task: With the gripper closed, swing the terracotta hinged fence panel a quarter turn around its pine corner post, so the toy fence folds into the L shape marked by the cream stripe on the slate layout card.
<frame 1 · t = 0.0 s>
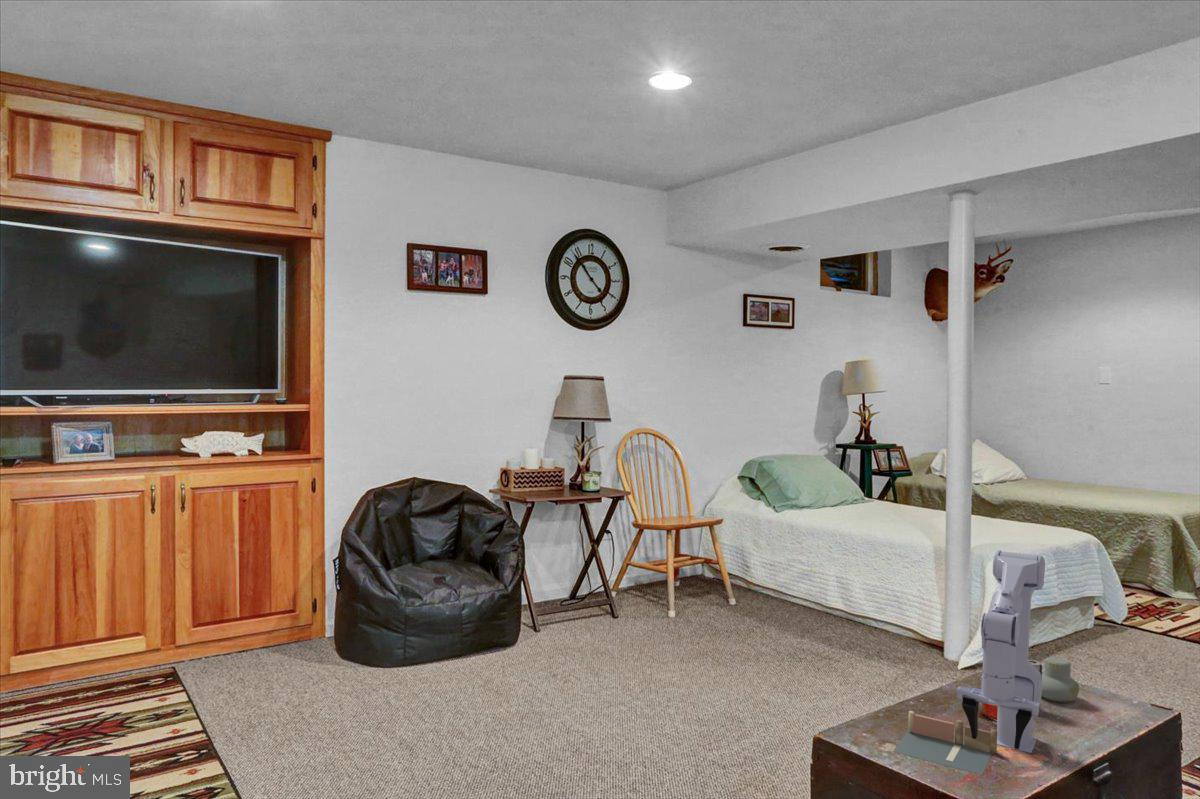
hand: (995, 742, 167), 10 cm above the table, tool pointing down, fingers open, 7 cm apart
grey l-shaped piece: (1056, 699, 219), on the table
fence frame: (958, 744, 188), resting on layout card
layout card: (943, 752, 185), on the table
energy drink: (1028, 710, 211), on the table
fence panel: (930, 726, 192), point 3 cm above the table, hinge at -90.0°
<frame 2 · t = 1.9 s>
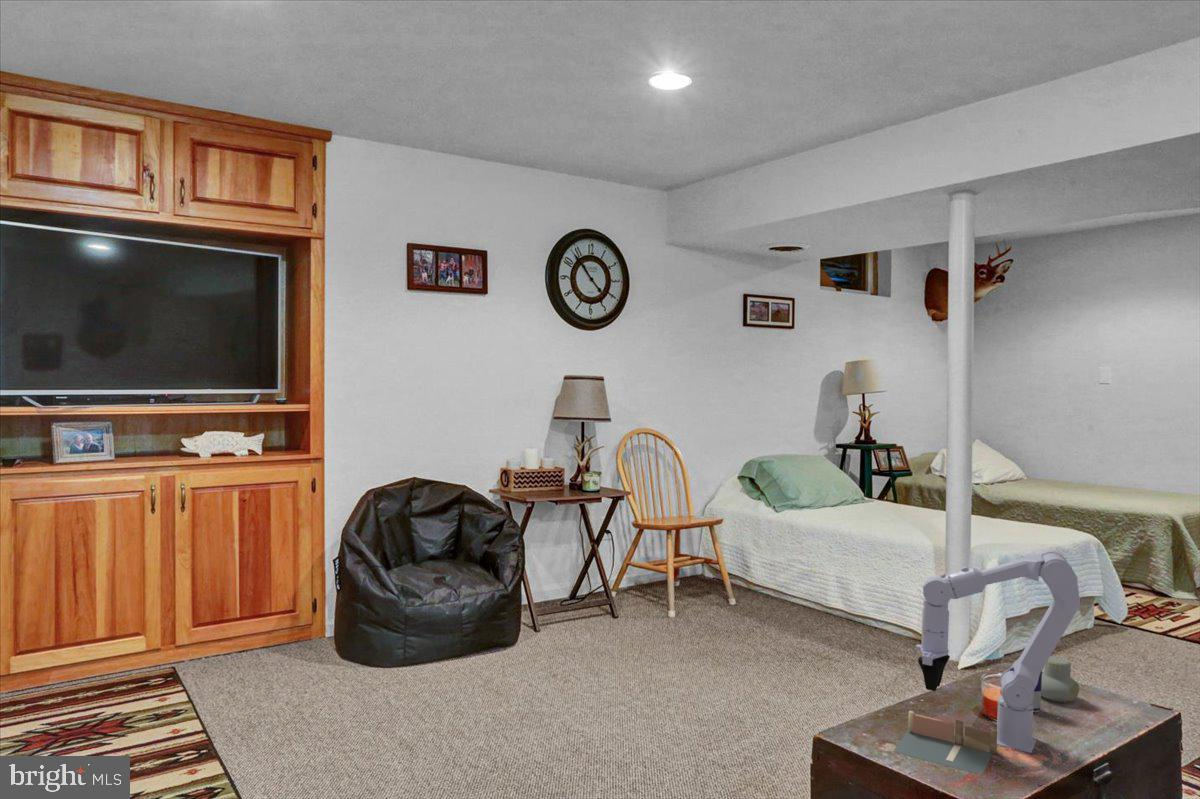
hand: (932, 687, 196), 10 cm above the table, tool pointing down, fingers open, 3 cm apart
nothing on the table moved.
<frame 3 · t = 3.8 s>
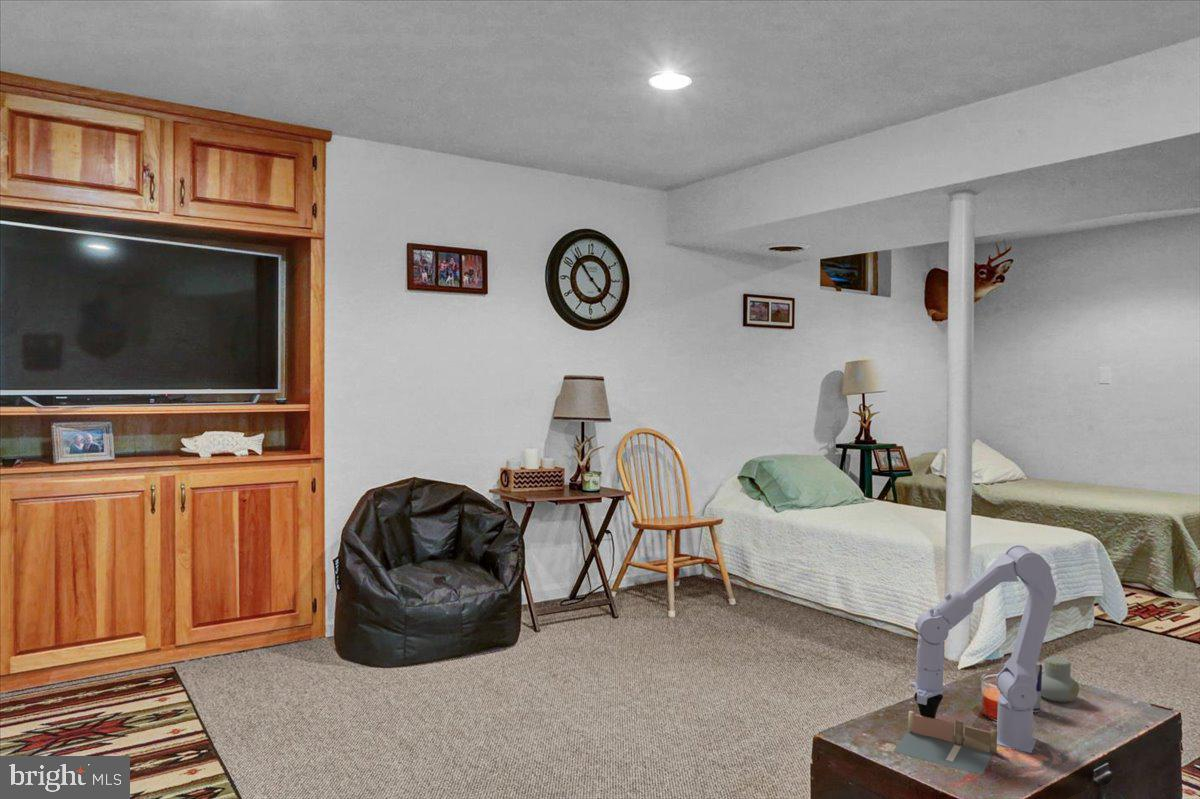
hand: (927, 725, 193), 2 cm above the table, tool pointing down, fingers closed
fence panel: (930, 726, 192), point 3 cm above the table, hinge at -89.9°, touching gripper
everything else where it was.
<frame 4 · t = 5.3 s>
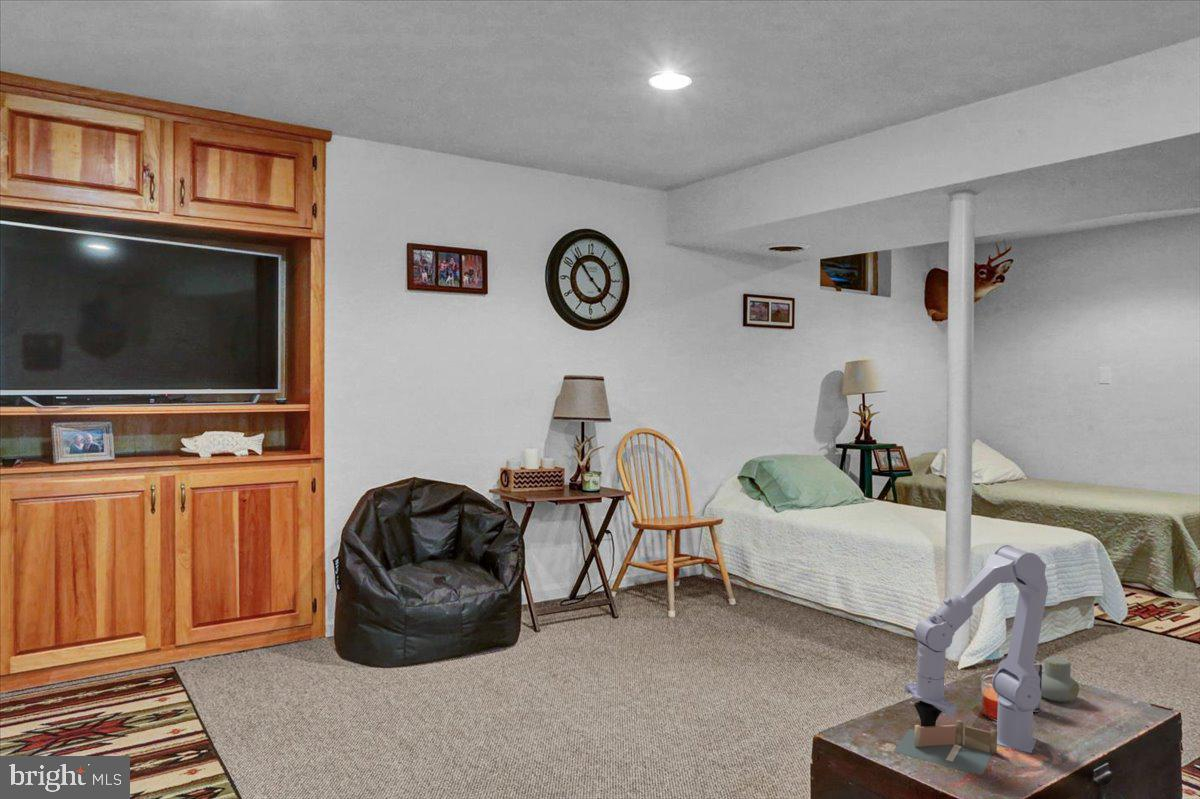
hand: (927, 735, 188), 2 cm above the table, tool pointing down, fingers closed, pressing on fence panel
fence panel: (934, 734, 187), point 3 cm above the table, hinge at -44.4°, touching gripper
everything else where it was.
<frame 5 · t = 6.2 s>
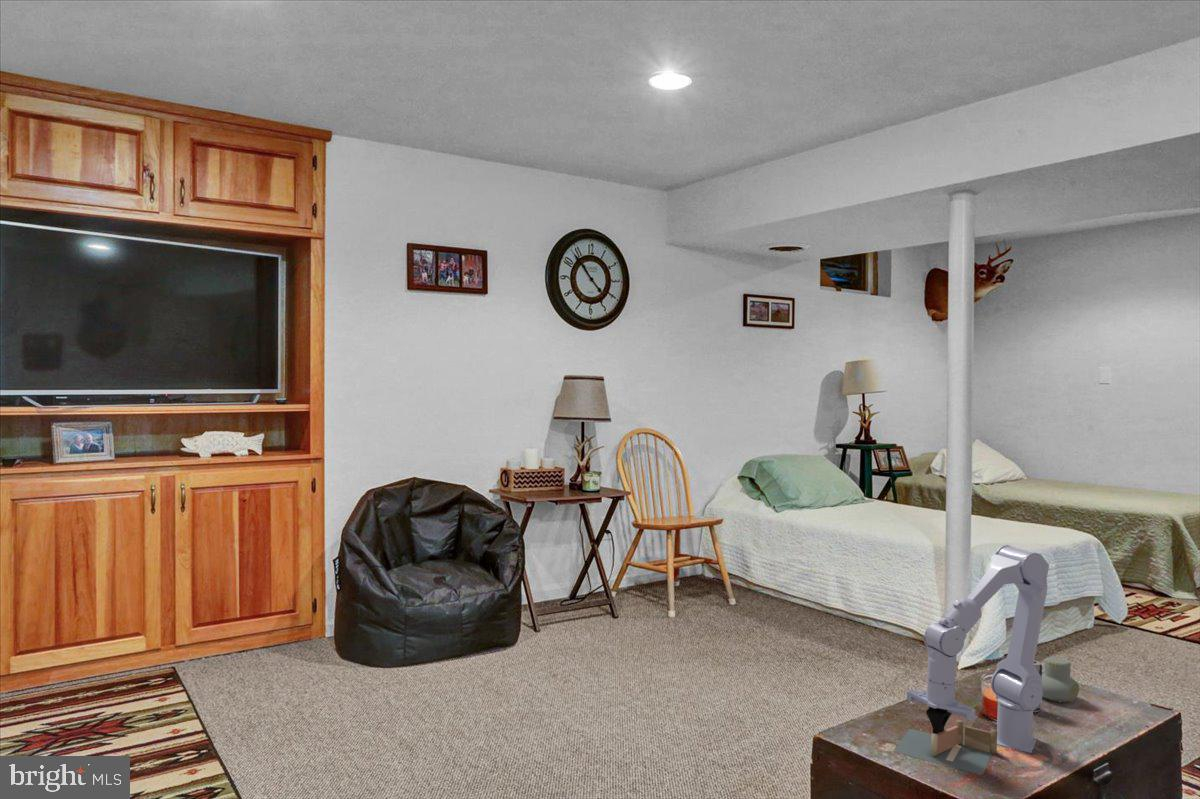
hand: (938, 741, 185), 2 cm above the table, tool pointing down, fingers closed, pressing on fence panel
fence panel: (944, 739, 184), point 3 cm above the table, hinge at -17.8°, touching gripper
everything else where it was.
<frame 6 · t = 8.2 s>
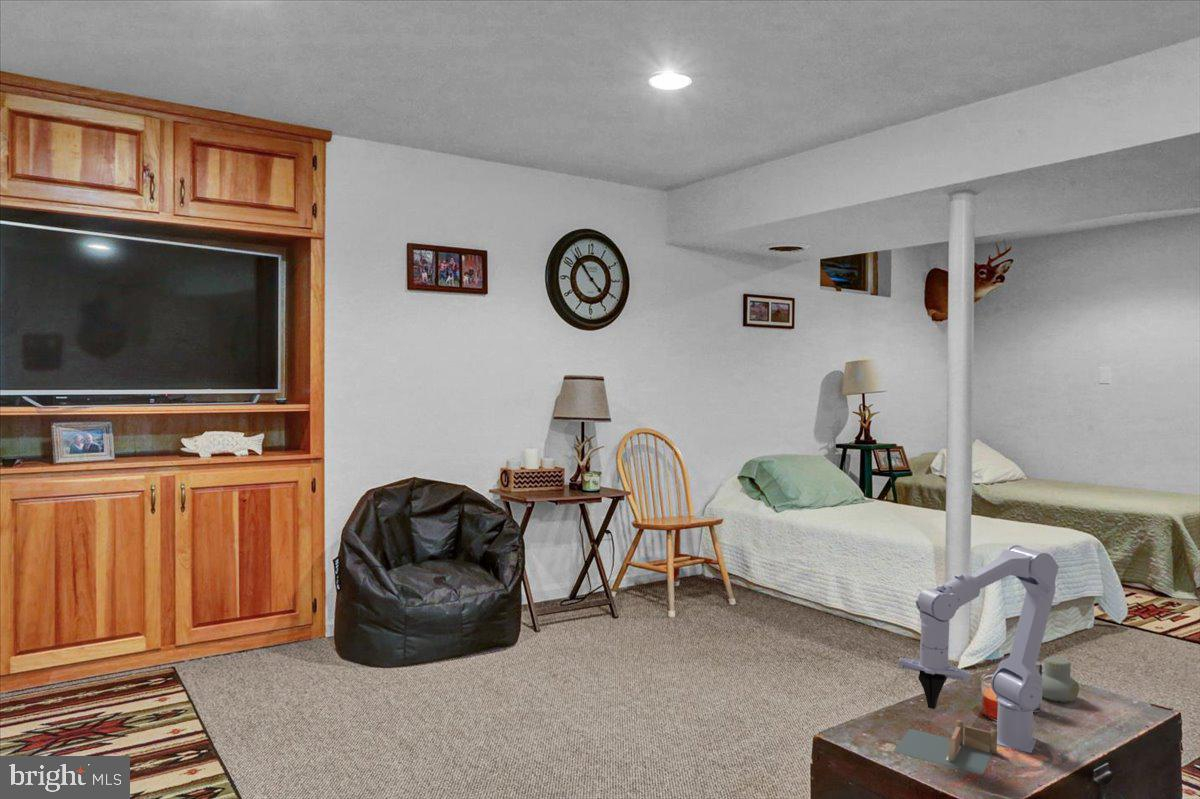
hand: (932, 707, 185), 10 cm above the table, tool pointing down, fingers closed
fence panel: (954, 742, 183), point 3 cm above the table, hinge at 2.3°
everything else where it was.
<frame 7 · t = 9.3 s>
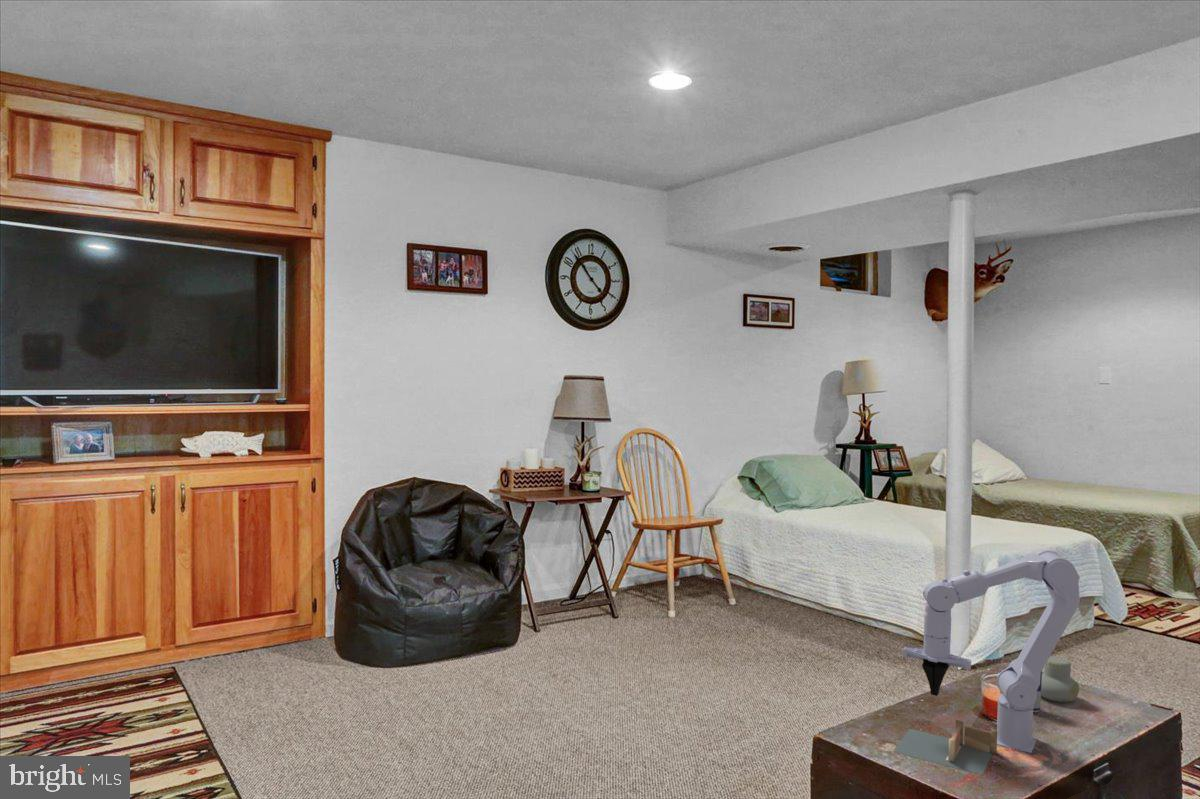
hand: (934, 693, 194), 9 cm above the table, tool pointing down, fingers closed
nothing on the table moved.
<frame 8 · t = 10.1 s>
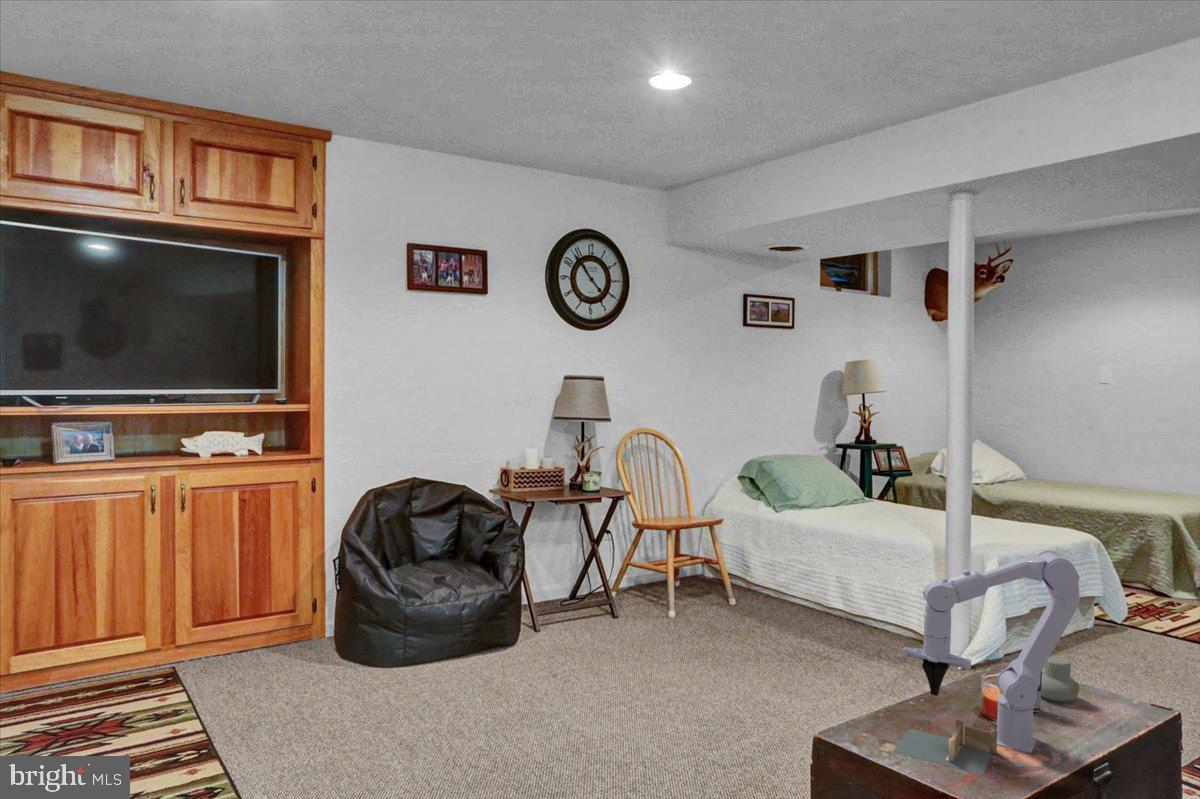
hand: (934, 693, 194), 9 cm above the table, tool pointing down, fingers closed
nothing on the table moved.
at the end: fence panel at +2° (first picture: -90°) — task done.
